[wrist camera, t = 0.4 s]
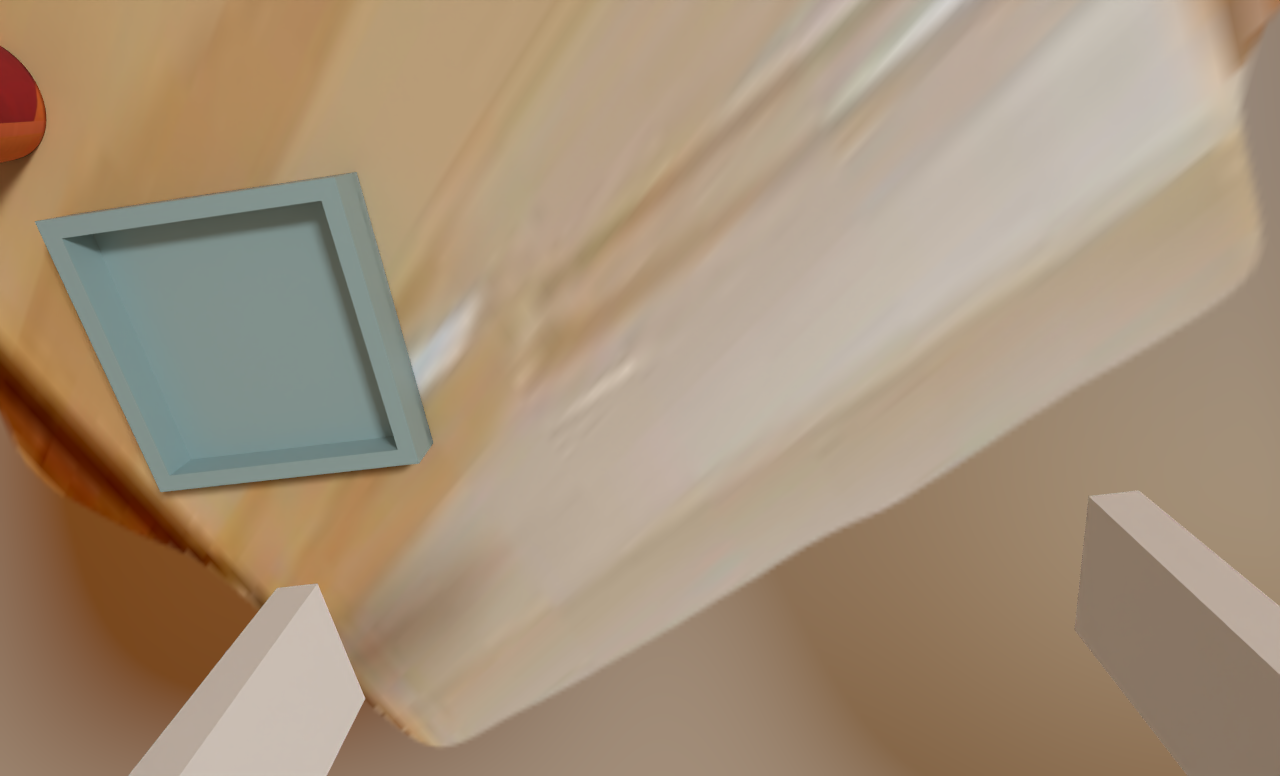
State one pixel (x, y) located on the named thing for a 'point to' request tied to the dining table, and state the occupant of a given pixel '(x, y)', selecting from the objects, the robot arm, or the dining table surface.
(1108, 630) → the robot arm
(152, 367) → the tray
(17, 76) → the coffee cup
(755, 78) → the dining table surface
